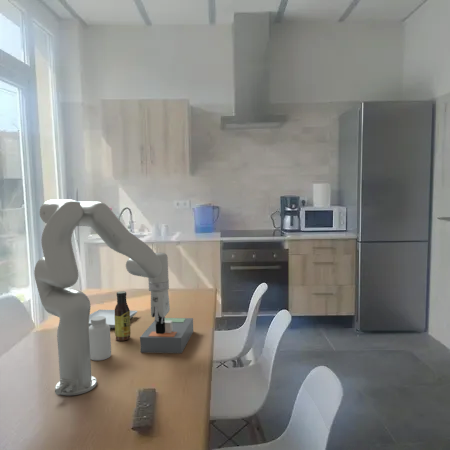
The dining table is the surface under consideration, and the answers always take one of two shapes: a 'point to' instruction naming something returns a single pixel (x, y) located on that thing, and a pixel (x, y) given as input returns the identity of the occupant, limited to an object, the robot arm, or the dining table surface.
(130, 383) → the dining table surface
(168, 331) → the switch knob
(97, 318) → the pill bottle
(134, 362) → the dining table surface
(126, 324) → the sauce bottle
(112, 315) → the salad plate
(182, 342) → the switch box
